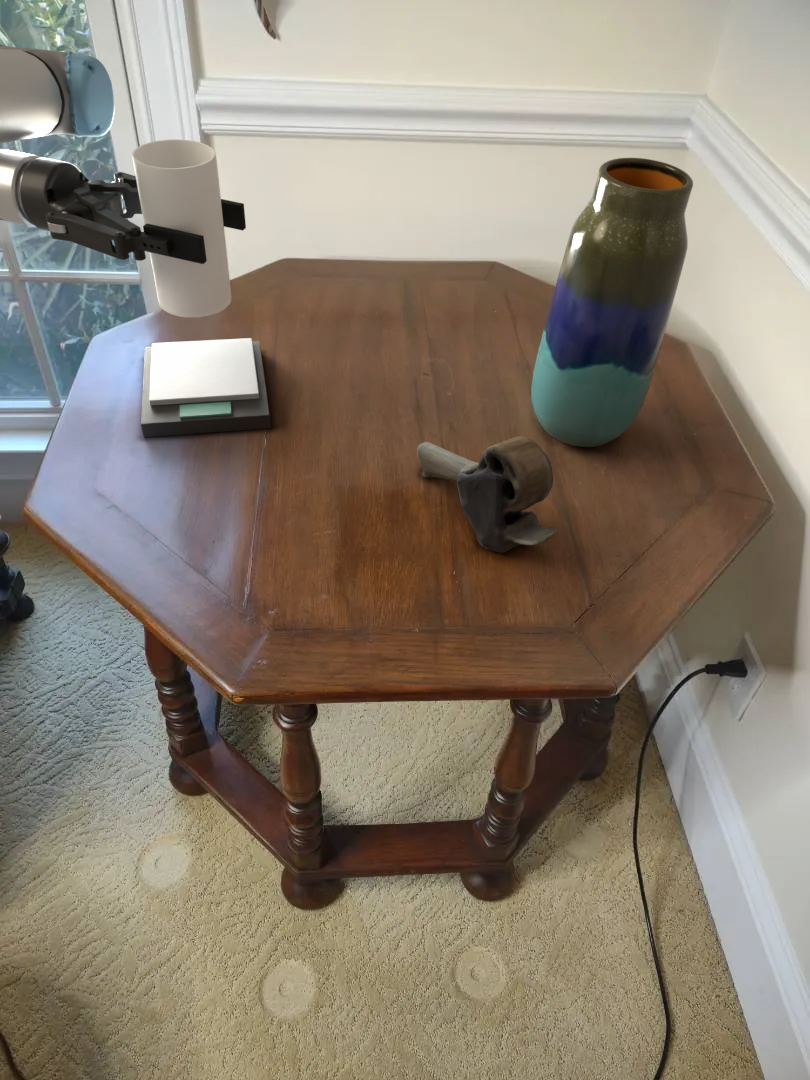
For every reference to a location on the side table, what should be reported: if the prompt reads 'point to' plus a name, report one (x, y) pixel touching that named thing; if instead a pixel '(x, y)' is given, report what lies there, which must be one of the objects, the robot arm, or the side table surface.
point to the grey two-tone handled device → (497, 489)
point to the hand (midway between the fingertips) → (223, 233)
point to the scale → (203, 387)
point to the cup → (185, 223)
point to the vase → (612, 302)
